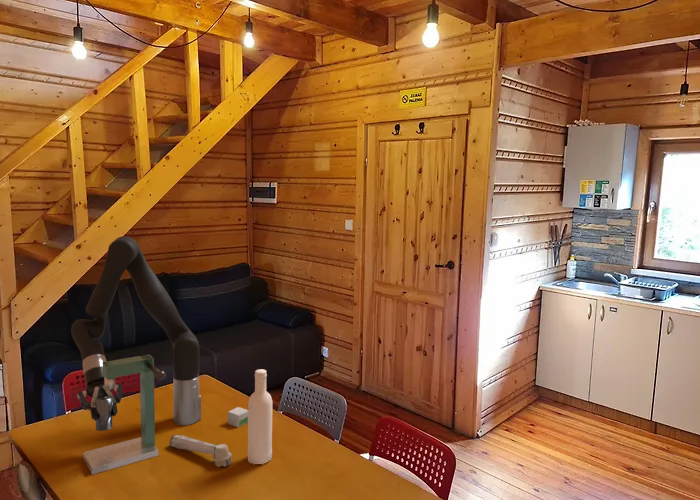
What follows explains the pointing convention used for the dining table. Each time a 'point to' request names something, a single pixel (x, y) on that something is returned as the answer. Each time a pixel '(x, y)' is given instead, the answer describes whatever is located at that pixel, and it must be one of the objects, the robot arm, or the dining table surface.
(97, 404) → the cylinder
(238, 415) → the small box
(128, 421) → the dining table surface
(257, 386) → the bottle
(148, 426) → the press
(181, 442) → the white handheld tool
